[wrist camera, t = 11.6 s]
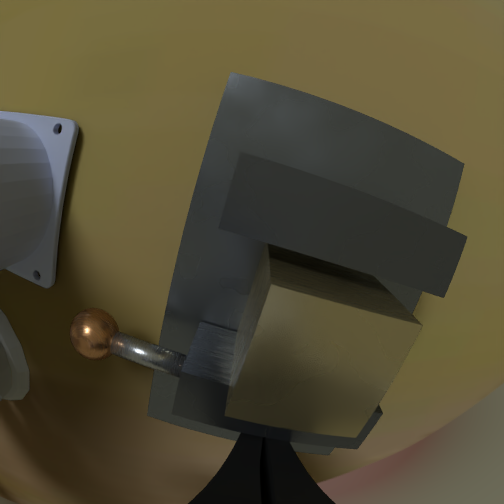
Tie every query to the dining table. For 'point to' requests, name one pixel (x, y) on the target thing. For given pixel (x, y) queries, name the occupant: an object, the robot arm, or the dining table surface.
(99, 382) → the dining table surface
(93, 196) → the dining table surface
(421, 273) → the vise
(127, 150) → the dining table surface
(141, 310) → the dining table surface
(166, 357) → the sliding jaw
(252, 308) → the brass block
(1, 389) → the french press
